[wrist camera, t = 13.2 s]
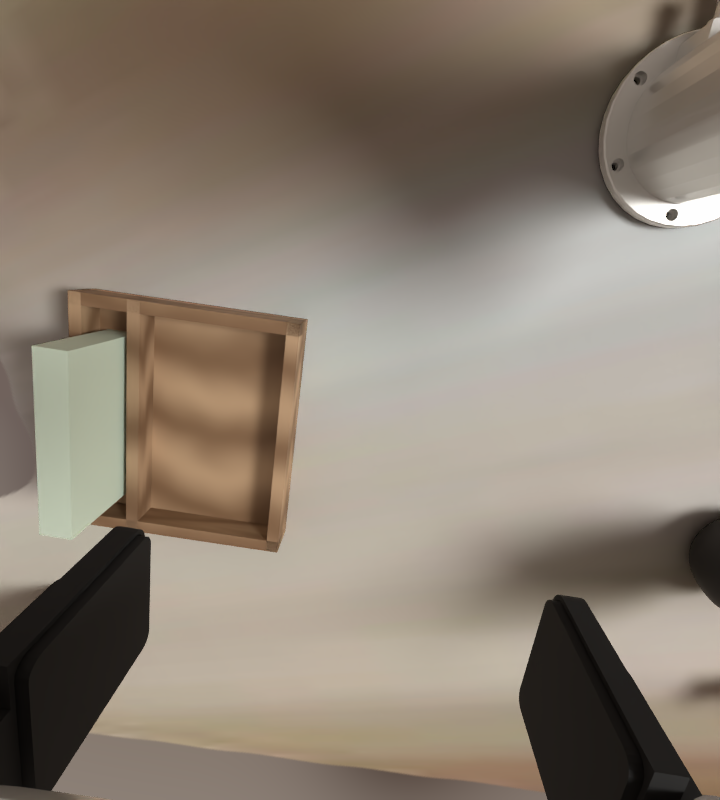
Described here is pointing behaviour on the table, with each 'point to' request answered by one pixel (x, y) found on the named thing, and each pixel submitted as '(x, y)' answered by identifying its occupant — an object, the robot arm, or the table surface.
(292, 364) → the wooden divided tray
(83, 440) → the door
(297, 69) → the table surface
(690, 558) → the cola bottle
